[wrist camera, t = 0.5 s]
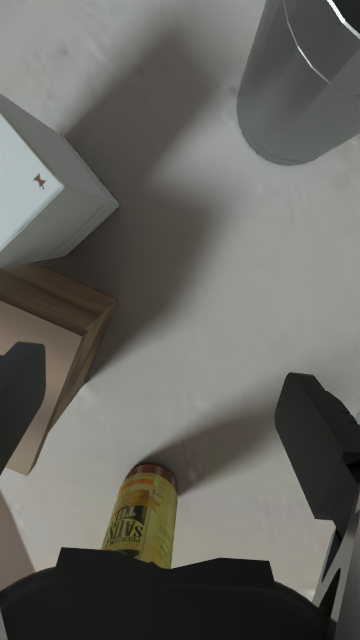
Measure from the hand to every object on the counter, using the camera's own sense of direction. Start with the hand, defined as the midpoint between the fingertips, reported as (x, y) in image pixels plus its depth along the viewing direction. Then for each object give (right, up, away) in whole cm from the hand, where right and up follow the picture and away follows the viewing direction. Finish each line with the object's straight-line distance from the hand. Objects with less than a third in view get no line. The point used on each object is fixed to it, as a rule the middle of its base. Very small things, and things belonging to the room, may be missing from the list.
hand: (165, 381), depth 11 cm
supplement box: (-10, +13, +18) cm, 24 cm away
